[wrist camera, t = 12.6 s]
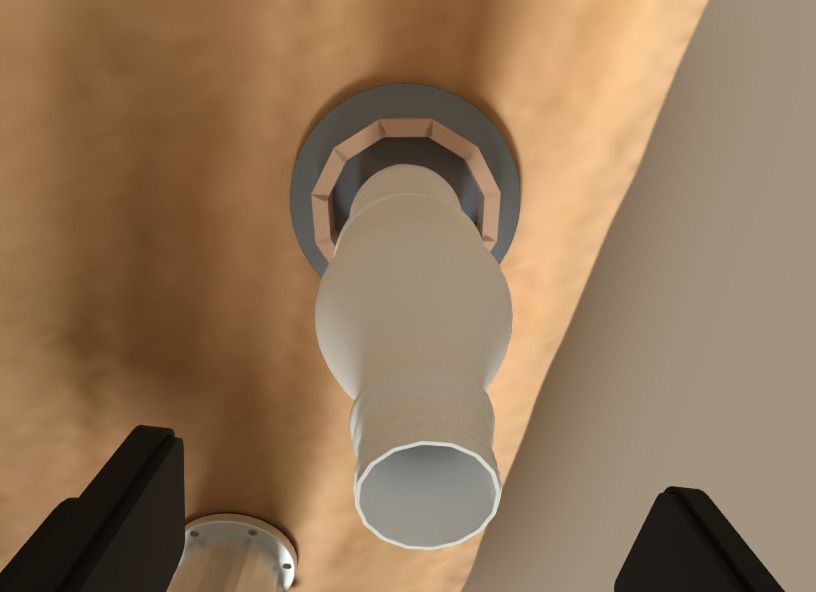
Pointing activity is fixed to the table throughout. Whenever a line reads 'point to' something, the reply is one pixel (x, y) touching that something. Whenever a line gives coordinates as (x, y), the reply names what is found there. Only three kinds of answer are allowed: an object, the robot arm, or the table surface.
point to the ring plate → (402, 144)
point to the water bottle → (416, 357)
